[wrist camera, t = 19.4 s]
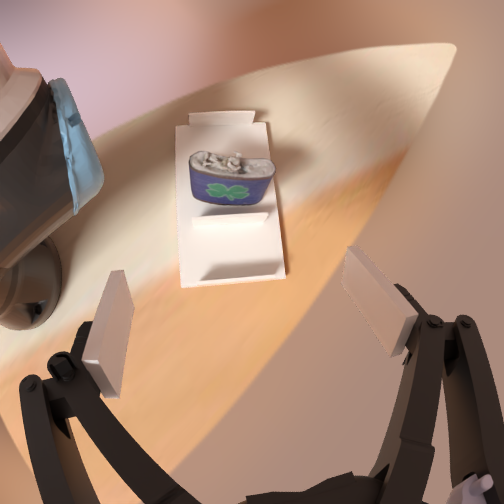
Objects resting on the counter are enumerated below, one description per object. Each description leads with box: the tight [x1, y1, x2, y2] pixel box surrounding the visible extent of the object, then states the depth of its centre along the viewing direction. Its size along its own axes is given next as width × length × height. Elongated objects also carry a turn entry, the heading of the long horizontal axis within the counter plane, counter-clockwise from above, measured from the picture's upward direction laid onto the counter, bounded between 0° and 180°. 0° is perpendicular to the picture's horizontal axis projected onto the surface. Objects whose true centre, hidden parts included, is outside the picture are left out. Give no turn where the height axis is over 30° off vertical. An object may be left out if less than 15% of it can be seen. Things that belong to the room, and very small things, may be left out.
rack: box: [175, 111, 286, 288], centre depth 38 cm, size 13×23×4 cm, turn 5°
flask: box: [188, 151, 276, 206], centre depth 33 cm, size 9×3×11 cm, turn 86°
